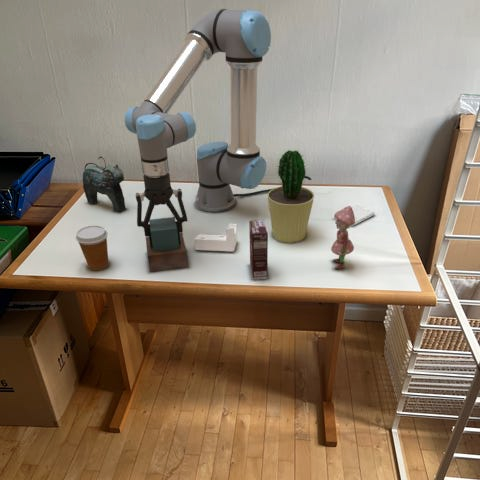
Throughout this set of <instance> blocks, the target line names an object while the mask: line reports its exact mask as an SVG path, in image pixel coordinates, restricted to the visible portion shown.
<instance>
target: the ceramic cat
mask: <svg viewBox="0 0 480 480" xmlns="http://www.w3.org/2000/svg"><path fill="white" fill-rule="evenodd" d="M100 159H102V160H103V161H104V167H103V166H100V165H98V164H96V163H95V162H87V163H85V166H84V170H83V173H82V184H83V185H82V188H83V191H84V195H85V198H86V201H87V203H88V204H89V205H95V204H97V203H98V194H101V195H105V196H106V197H108V199H109V201H110V202H111V204H112V210H113V211H114V212H118V213H122V212H124V211H125V210H127V208H126V201H125V196H124V192H123V188H122V187H121V183H122V182H124V180H125V176H124V172H123V170H122V169H121V168H120V167H119V164H118V163H116V164H115V165H111V164H110V163H108V164H107V165H106V160H105V158H104V156H101V155H100V156H99V157H98V158H97V160H100ZM89 165H91V166H90V167H87V166H89Z"/></svg>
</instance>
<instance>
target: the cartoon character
mask: <svg viewBox="0 0 480 480" xmlns="http://www.w3.org/2000/svg"><path fill="white" fill-rule="evenodd" d="M352 207H353V206H351V205H348V206H346V207H344V208H342V209H340V210H338V211H337V212H335V213H334V215H333V216H334V219H335V218H336V219H337V220H336V219H335V220H336V221H335V222H334V224H335V225H336V229H337V232H336V240H335V241H334V242H333V244H332V245H331V247H330V250H331V252H332V254H334V255H337V256H338V258H334V259H333V258H332V262H335V263H339V264H338V265H336V266H334V269H335V270H339V269H343V268H344V267H345V257H346V255H350V254H351V253H352V252H353V251H354V250H355V246H354V244H353V241H352V240H351V239H349V232H348V230H349V229H350V228H351V227H352V226H351V225H354V224H355V217H354V212H353V209H352ZM354 226H355V225H354ZM347 229H348V230H347Z"/></svg>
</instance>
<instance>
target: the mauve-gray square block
mask: <svg viewBox="0 0 480 480" xmlns="http://www.w3.org/2000/svg"><path fill="white" fill-rule="evenodd" d="M180 242H181V244H179V249H171V250H162V251H153V247H150V240H149V237H146V236H145V245H146V246H145V247H146V254H147V260H148V267H149V272H150V273H153V272H163V271H169V270H170V271H171V270H177V269H186V268H189V261H188V252H187V248H186V243H185V239H184V234H183V232H182V233H180Z"/></svg>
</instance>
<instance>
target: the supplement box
mask: <svg viewBox="0 0 480 480" xmlns="http://www.w3.org/2000/svg"><path fill="white" fill-rule="evenodd" d="M248 227H249V228H248V229H249V230H248V231H249V267H250V272H251V276H252V280H255V281H256V280H266V279H267V280H268V265H269V263H268V262H269V261H268V253H269V252H268V249H269V247H268V245H269V236H268V235H269V232H268V231H267V227H266V222H265V219H253V220H252V219H251V220H249V221H248Z"/></svg>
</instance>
